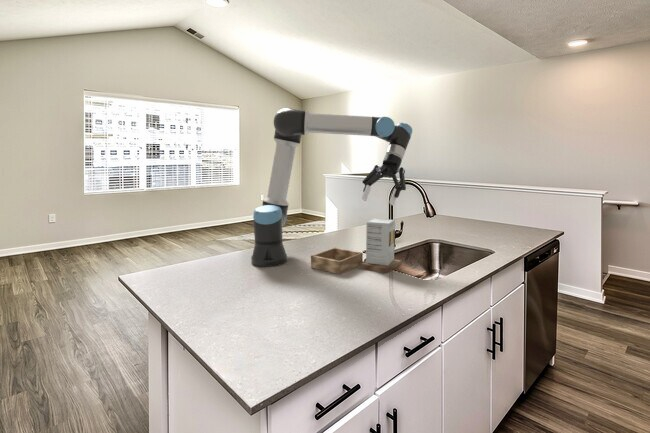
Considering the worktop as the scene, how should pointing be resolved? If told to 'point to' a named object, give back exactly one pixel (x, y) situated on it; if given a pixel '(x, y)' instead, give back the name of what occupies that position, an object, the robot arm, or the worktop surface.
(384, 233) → the supplement box
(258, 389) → the worktop surface
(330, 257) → the wooden tray
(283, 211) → the robot arm
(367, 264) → the walnut board
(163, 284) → the worktop surface
